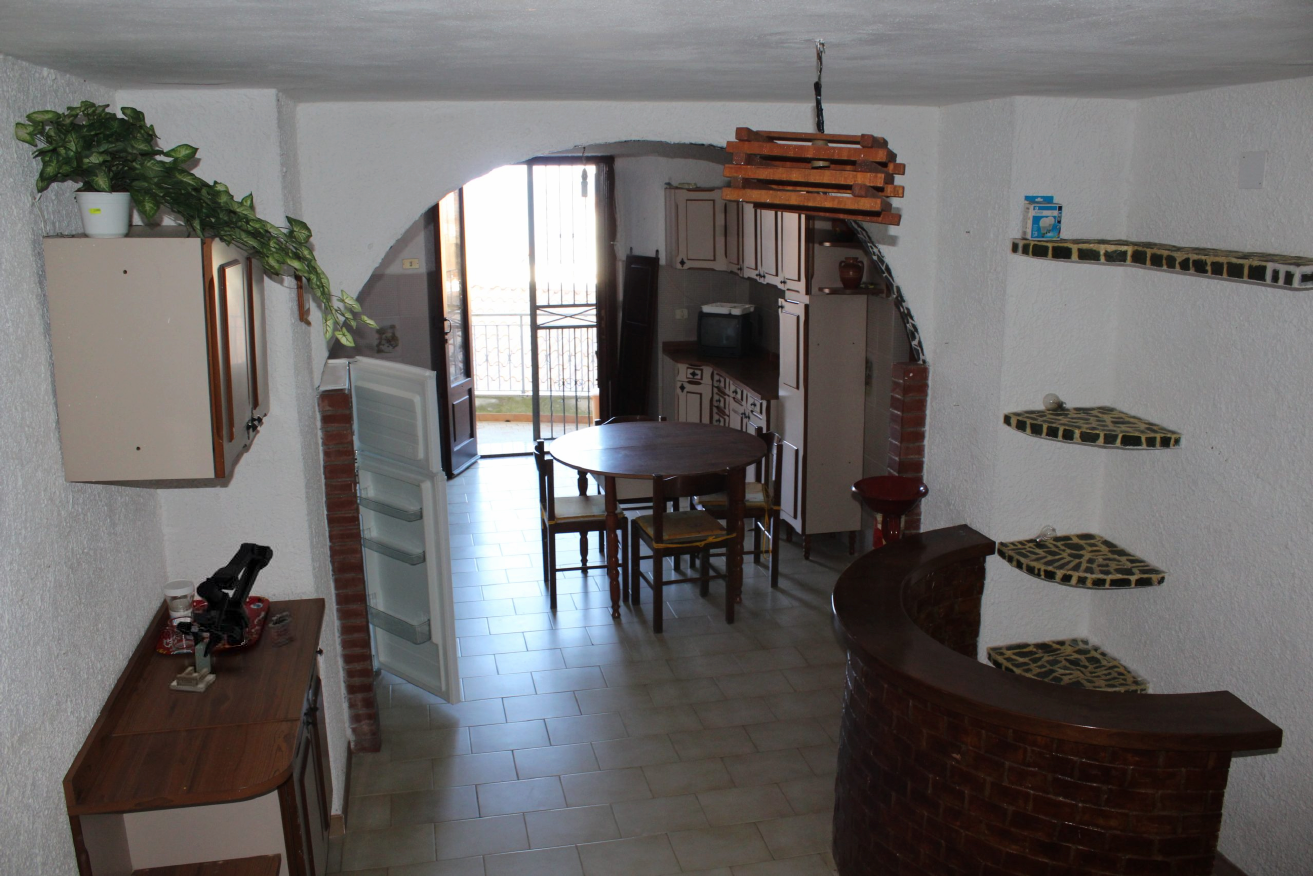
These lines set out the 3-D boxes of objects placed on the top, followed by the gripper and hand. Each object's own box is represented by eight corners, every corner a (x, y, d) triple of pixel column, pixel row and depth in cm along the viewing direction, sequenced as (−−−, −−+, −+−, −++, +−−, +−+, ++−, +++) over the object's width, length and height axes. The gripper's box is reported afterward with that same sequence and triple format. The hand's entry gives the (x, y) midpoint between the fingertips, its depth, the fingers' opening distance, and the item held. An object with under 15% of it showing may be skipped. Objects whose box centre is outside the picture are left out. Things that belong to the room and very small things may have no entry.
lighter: (274, 648, 335) (272, 620, 332) (267, 645, 337) (266, 617, 334) (294, 639, 341) (293, 612, 339) (288, 636, 343) (286, 609, 341)
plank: (203, 670, 318) (201, 641, 316) (210, 671, 318) (208, 642, 315) (196, 676, 314) (194, 647, 312) (204, 677, 314) (202, 648, 312)
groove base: (184, 676, 314) (183, 663, 313) (215, 679, 313) (214, 665, 312) (170, 689, 306) (169, 675, 305) (202, 691, 306) (201, 678, 305)
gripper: (176, 597, 314) (159, 646, 307) (234, 602, 313) (219, 651, 306) (190, 610, 324) (175, 657, 316) (247, 614, 323) (233, 662, 315)
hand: (200, 656), depth 313 cm, fingers closed on plank, 2 cm apart
